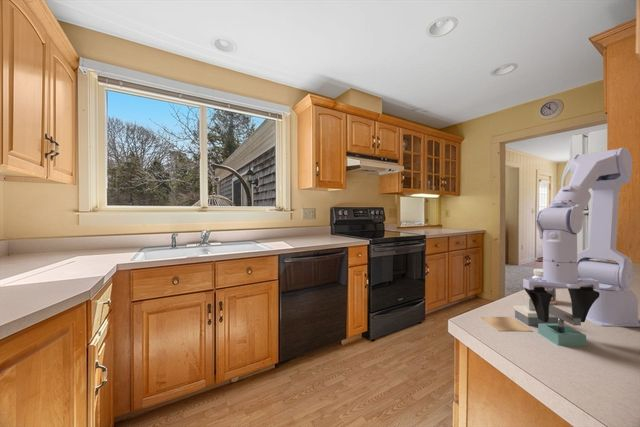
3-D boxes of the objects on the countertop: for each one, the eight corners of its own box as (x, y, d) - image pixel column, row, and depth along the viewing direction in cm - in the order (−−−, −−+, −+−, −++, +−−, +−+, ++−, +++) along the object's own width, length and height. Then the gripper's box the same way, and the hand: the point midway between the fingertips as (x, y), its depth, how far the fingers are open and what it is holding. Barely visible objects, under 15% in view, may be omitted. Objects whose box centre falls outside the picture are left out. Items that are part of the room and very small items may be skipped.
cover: (542, 309, 69) (542, 294, 69) (559, 317, 64) (559, 301, 64) (513, 308, 70) (513, 294, 70) (528, 317, 64) (527, 301, 64)
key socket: (563, 333, 61) (563, 323, 61) (588, 347, 55) (588, 335, 55) (536, 333, 61) (536, 323, 61) (558, 346, 55) (557, 335, 55)
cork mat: (511, 318, 70) (511, 316, 70) (533, 332, 62) (533, 330, 62) (480, 318, 70) (480, 316, 70) (498, 332, 62) (498, 330, 62)
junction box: (542, 318, 69) (542, 309, 69) (558, 326, 64) (557, 317, 64) (515, 318, 70) (514, 309, 70) (528, 326, 65) (528, 316, 65)
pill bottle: (560, 305, 78) (560, 272, 78) (539, 304, 79) (538, 272, 79) (548, 298, 83) (547, 268, 83) (528, 297, 84) (527, 268, 84)
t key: (542, 330, 62) (541, 304, 62) (551, 330, 62) (551, 304, 62) (572, 348, 54) (571, 318, 54) (583, 348, 54) (582, 318, 54)
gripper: (539, 264, 54) (540, 328, 54) (613, 263, 53) (614, 328, 53) (516, 258, 61) (517, 314, 61) (581, 257, 60) (582, 314, 60)
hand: (560, 320), depth 58 cm, fingers open, 7 cm apart
